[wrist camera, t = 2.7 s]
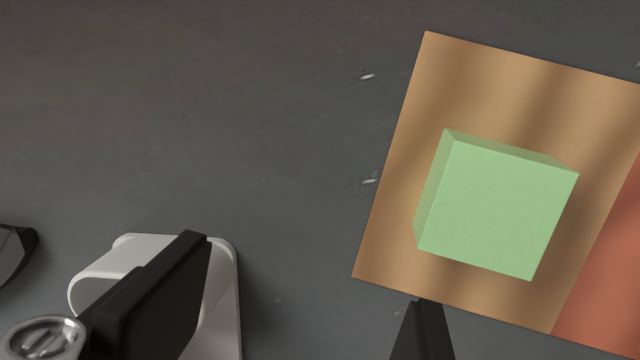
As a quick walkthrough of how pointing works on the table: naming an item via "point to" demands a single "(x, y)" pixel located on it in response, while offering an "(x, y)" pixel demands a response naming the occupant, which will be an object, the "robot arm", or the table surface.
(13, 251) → the dark sector wedge
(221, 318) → the phone holder
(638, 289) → the plate
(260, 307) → the table surface
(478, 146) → the green block
